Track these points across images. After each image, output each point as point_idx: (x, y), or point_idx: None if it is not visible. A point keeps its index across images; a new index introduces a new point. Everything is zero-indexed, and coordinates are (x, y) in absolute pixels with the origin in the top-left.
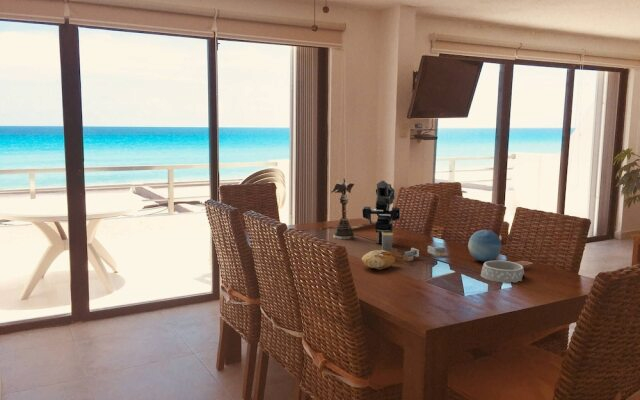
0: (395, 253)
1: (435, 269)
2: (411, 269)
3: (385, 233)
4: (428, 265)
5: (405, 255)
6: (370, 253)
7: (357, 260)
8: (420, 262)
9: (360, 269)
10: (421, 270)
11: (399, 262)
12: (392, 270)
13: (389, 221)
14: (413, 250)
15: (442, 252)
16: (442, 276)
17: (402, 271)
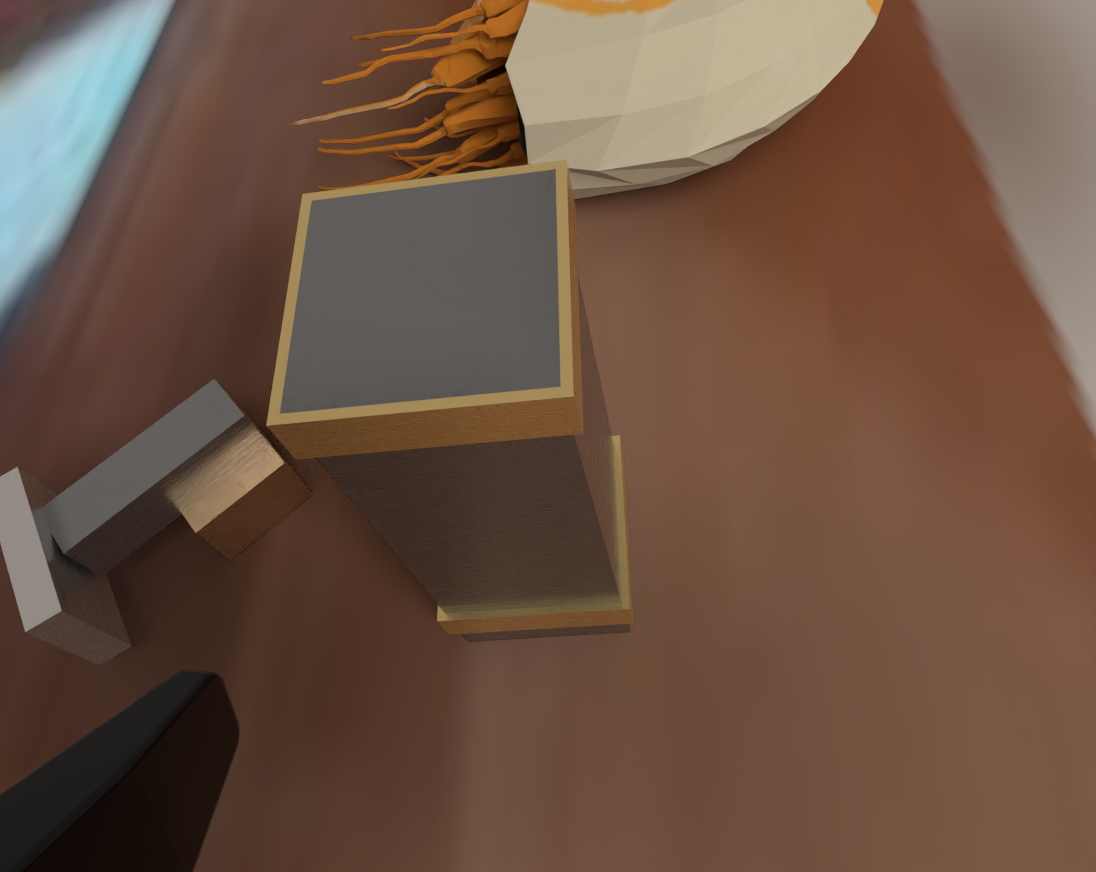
0: (419, 30)
1: (61, 171)
2: None
3: (488, 185)
4: (71, 293)
5: (253, 424)
6: None
7: (1007, 357)
8: (114, 403)
9: None
10: (212, 114)
11: (398, 176)
12: None
13: (137, 715)
14: (64, 542)
15: None
16: (91, 4)
17: (409, 49)
